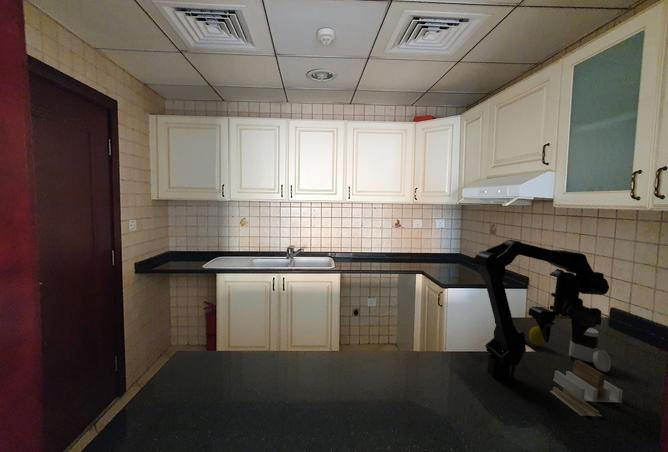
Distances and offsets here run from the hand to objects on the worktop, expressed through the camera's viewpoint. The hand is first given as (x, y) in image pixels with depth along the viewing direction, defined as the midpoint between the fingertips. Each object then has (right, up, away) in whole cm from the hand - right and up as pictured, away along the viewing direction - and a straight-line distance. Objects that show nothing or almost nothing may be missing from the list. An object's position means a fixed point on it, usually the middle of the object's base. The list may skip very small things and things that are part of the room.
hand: (560, 342), depth 90 cm
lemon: (+10, -12, +25) cm, 30 cm away
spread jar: (+20, -13, +14) cm, 28 cm away
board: (+3, -12, -5) cm, 13 cm away
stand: (-5, -12, -11) cm, 18 cm away
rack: (+3, -13, -5) cm, 14 cm away
